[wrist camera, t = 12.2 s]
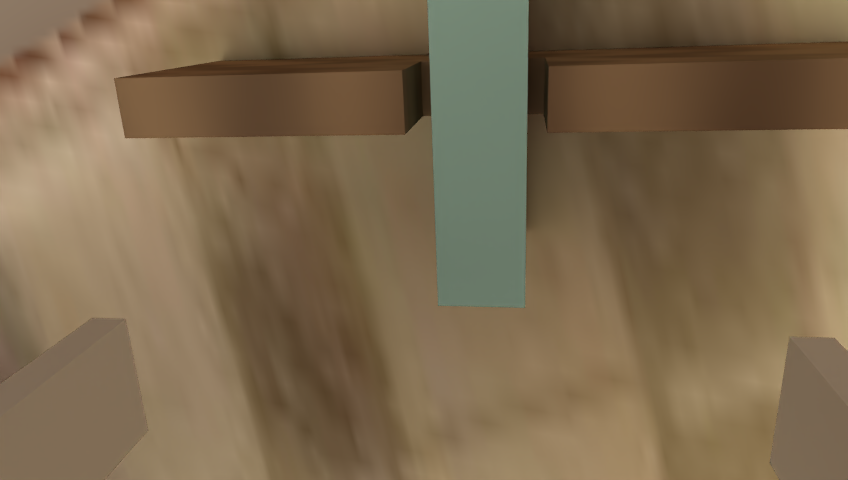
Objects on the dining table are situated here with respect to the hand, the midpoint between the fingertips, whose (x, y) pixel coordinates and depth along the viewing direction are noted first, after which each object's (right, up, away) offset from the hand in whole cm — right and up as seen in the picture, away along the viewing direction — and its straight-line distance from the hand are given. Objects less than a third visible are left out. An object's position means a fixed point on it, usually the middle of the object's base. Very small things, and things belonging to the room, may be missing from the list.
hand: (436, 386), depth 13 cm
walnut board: (+3, +10, +15) cm, 18 cm away
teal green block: (+3, +10, +15) cm, 18 cm away
